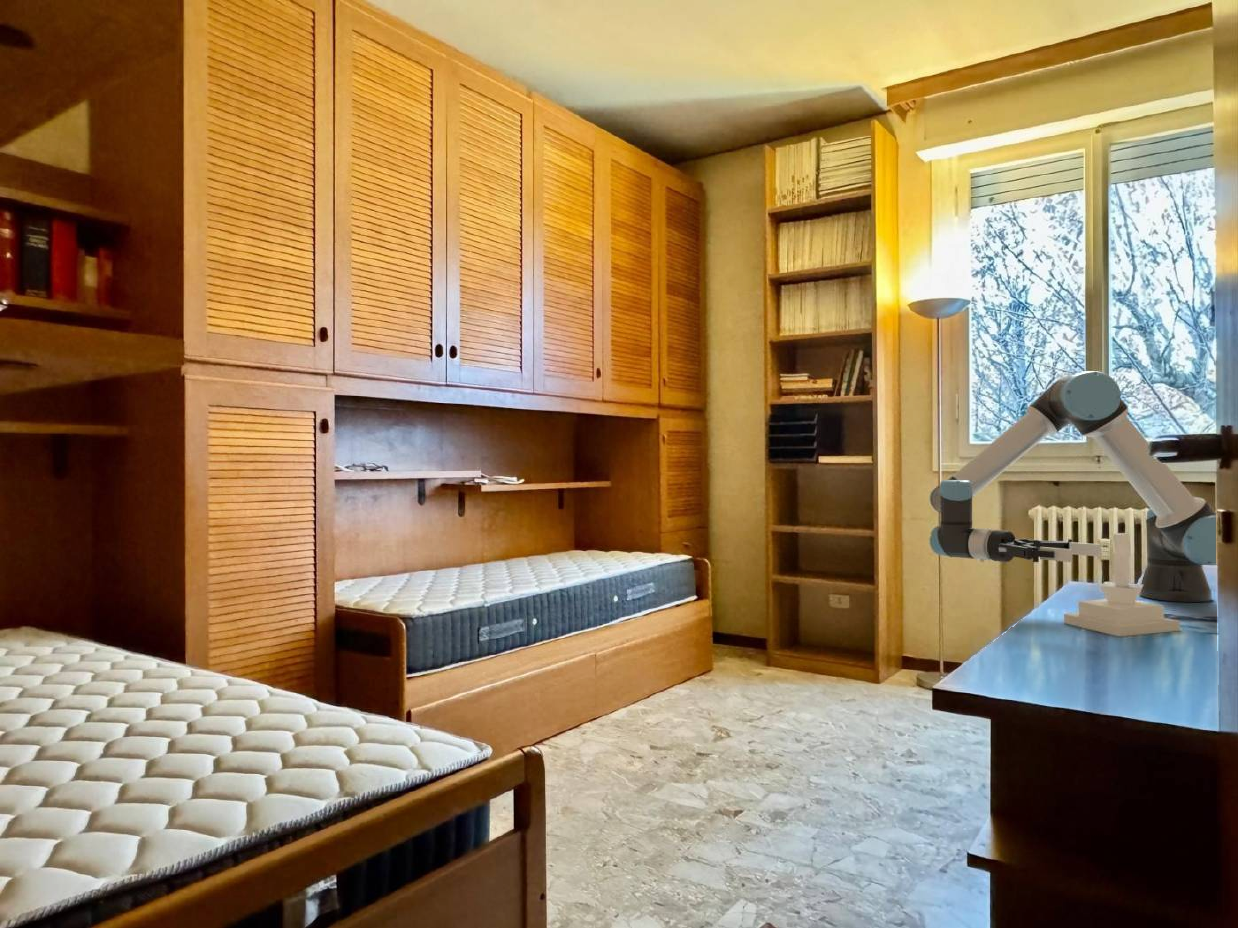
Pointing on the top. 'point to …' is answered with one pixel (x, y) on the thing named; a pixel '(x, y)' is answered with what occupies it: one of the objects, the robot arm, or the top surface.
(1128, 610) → the plinth
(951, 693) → the top surface
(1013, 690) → the top surface
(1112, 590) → the figurine
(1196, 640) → the top surface
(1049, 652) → the top surface
